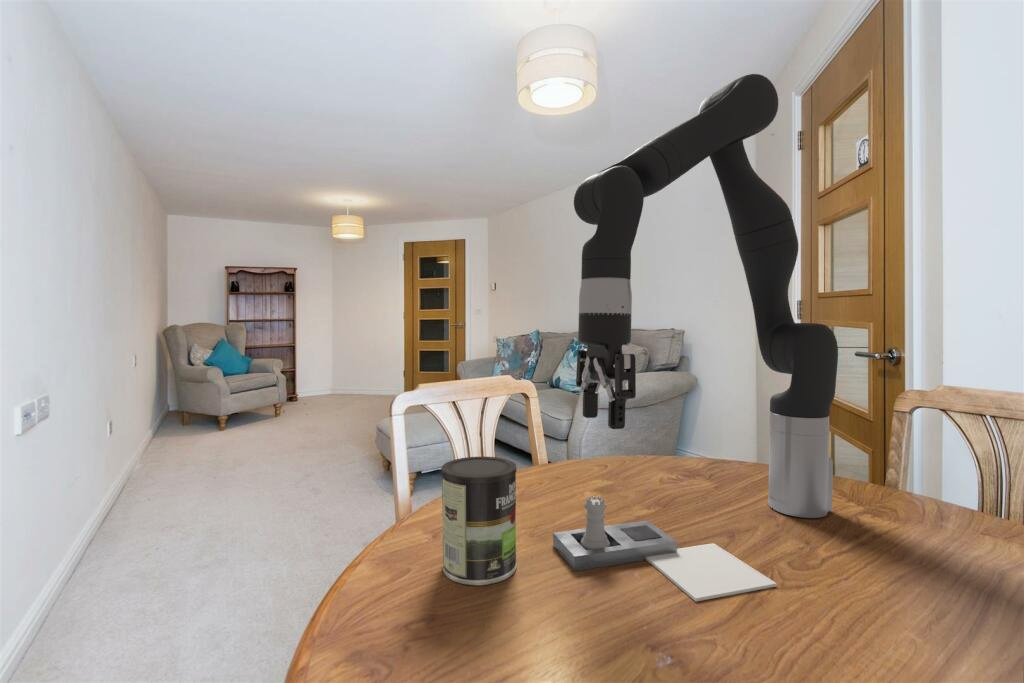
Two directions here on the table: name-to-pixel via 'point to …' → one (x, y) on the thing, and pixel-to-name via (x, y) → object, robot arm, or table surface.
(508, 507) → the coffee can
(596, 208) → the robot arm
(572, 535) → the grey rectangular frame
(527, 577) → the table surface
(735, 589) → the mat
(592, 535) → the rook chess piece
